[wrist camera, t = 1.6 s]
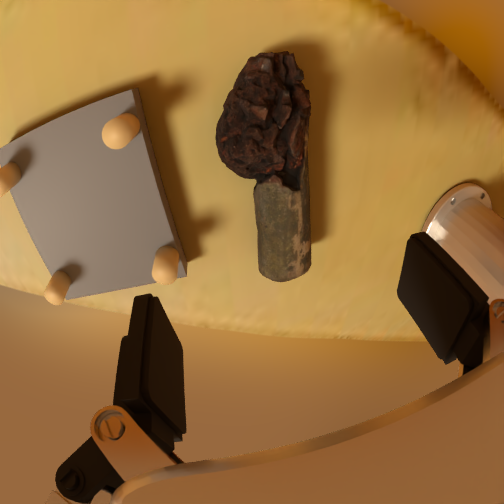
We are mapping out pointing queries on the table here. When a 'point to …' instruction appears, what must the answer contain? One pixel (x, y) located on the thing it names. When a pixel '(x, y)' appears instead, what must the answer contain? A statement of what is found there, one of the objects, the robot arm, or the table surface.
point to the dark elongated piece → (272, 158)
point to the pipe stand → (94, 200)
